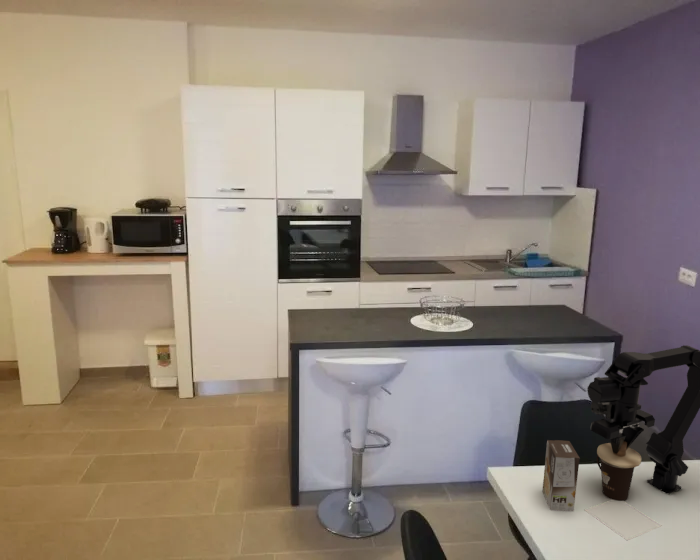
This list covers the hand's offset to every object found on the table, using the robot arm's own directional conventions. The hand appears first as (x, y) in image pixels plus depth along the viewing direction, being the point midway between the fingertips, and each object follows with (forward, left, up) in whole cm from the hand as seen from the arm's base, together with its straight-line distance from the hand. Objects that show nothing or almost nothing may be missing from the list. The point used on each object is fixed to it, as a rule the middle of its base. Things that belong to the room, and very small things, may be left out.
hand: (619, 451), depth 149 cm
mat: (+8, +9, -13) cm, 17 cm away
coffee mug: (0, 0, -13) cm, 13 cm away
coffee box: (+18, -4, -13) cm, 22 cm away
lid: (0, 0, -2) cm, 2 cm away
